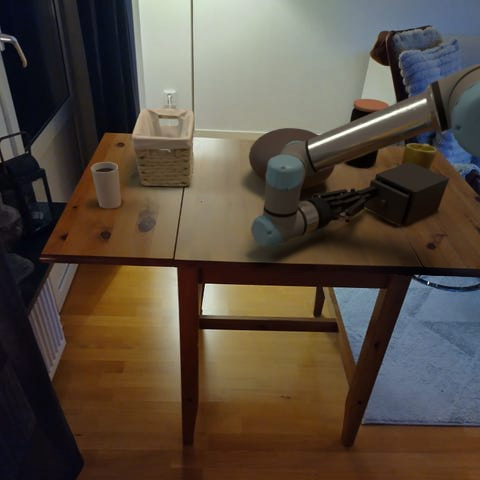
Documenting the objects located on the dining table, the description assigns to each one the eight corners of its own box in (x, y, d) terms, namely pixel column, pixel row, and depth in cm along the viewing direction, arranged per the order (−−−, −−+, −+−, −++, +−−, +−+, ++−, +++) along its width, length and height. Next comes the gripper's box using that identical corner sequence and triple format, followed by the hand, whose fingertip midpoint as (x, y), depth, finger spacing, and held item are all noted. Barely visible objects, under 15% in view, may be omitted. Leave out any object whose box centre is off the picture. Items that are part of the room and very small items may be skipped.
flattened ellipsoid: (274, 159, 150) (279, 111, 140) (344, 180, 140) (354, 130, 130) (231, 185, 134) (232, 133, 125) (306, 211, 124) (314, 156, 114)
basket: (192, 190, 131) (191, 137, 121) (135, 188, 130) (129, 135, 121) (196, 156, 149) (195, 108, 139) (145, 155, 148) (141, 107, 138)
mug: (426, 177, 139) (429, 142, 136) (394, 177, 146) (396, 144, 143) (442, 174, 147) (446, 141, 144) (412, 174, 154) (414, 143, 151)
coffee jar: (371, 171, 146) (385, 111, 134) (338, 164, 149) (349, 105, 137) (378, 159, 154) (392, 102, 142) (347, 153, 157) (358, 96, 145)
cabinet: (405, 226, 120) (415, 192, 114) (367, 207, 128) (376, 173, 121) (437, 211, 127) (449, 178, 121) (400, 194, 135) (410, 161, 128)
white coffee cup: (121, 196, 126) (116, 160, 120) (124, 207, 122) (119, 171, 115) (96, 199, 125) (89, 163, 118) (98, 210, 120) (92, 173, 113)
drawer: (395, 226, 118) (403, 198, 113) (361, 208, 125) (367, 181, 120) (429, 211, 125) (438, 184, 120) (395, 195, 132) (402, 168, 127)
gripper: (288, 218, 116) (351, 195, 127) (326, 241, 108) (389, 214, 120) (292, 190, 111) (357, 169, 122) (331, 212, 103) (397, 187, 115)
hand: (373, 191), depth 121 cm, fingers closed
